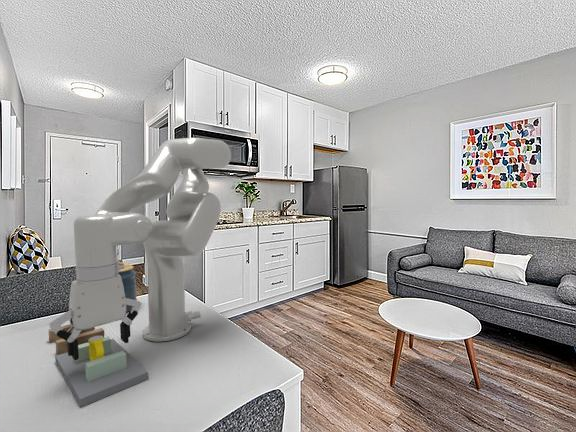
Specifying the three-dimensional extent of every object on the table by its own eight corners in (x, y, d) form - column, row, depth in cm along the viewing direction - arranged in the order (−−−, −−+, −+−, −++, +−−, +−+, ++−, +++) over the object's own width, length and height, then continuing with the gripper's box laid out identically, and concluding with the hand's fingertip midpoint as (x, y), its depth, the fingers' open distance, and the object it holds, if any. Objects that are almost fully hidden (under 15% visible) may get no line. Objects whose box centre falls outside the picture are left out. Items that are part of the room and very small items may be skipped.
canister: (143, 308, 104) (142, 257, 103) (101, 320, 94) (99, 263, 93) (128, 300, 112) (127, 253, 111) (88, 309, 103) (86, 258, 102)
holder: (92, 329, 87) (92, 318, 87) (104, 341, 80) (104, 330, 80) (49, 340, 80) (48, 329, 80) (57, 355, 73) (57, 343, 72)
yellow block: (85, 363, 67) (84, 336, 67) (100, 358, 69) (98, 332, 69) (93, 372, 63) (92, 343, 63) (108, 366, 65) (107, 339, 65)
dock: (113, 344, 78) (112, 327, 78) (148, 378, 63) (147, 357, 63) (55, 362, 69) (54, 343, 69) (80, 407, 54) (79, 383, 54)
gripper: (133, 263, 74) (135, 330, 75) (43, 277, 62) (48, 358, 63) (145, 268, 69) (148, 340, 70) (50, 284, 56) (55, 372, 58)
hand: (101, 348), depth 67 cm, fingers open, 9 cm apart
